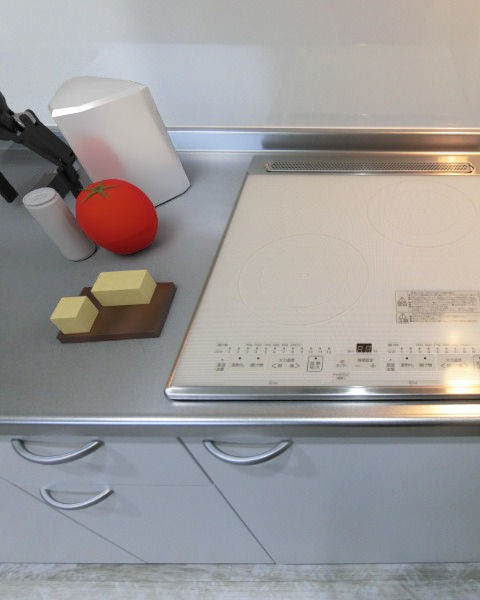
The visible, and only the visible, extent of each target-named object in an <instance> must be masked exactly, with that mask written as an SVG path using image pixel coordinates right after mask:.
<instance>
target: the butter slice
mask: <svg viewBox="0 0 480 600" xmlns="http://www.w3.org/2000/svg"><path fill="white" fill-rule="evenodd" d="M98 313H99V311H98V309H97V308H96V307H95V306H94V305H93V303H92V302H91V301H90V300H89V298H88V297H87V296H79V295H78V296H67V297H61V298H60V299H59V302H58V304H57V305H56V306H55V309H54V311H53V312H52V314H51V315H50V317H49V320H50V321H51V322H52V323H53V324H54V325H55V326H56V327H57V328H58V329H59V331H60V330H61V331H62V332H63V333H64V334H71V333H85V332H89V331H90V329H91V327H92V325H93V323H94V321H95V319H96V317H97V315H98Z"/></svg>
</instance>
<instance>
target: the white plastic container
mask: <svg viewBox="0 0 480 600" xmlns="http://www.w3.org/2000/svg"><path fill="white" fill-rule="evenodd" d="M47 109H48V111H49V114H50V116H51V118H52V120H53V121H54V123H55V124H56V126H57V127H58V130H59V131H60V133H61V134H62V136H63V137H64V139H65V141H66V142H67V144H68V146H69V147H70V148H71V149H72V150H73V151H74V153H75V155H76V156H77V158H78V159H77V160H78V161H79V163H80V164H81V166H82V168H83V169H84V172H85V173H86V174H87V175H88V177H89V179H90V181H91V182H92V184H93V183H96V182H99V181H102V180H106V179H119V180H123V181H127V182H129V183H131V184H133V185H135V186H137V187H138V188H139V189H140V190H142V191H143V192H144V193H145V194H146V195H147V197H148V198H149V199H150V200H151V202H152V204H153V205H154V207H156V206H158V205H161V204H163V203H165V202H167V201H169V200H172V199H174V198H175V197H177V196H180V195H181V194H184V193H185V192H186V191H187V190H188V189H189V187H191V183H190V181H189V178H188V176H187V174H186V171H185V169H184V167H183V164H182V162H181V160H180V157H179V155H178V153H177V150H176V148H175V146H174V143H173V141H172V139H171V136H170V133H169V131H168V130H167V129H168V128H166V125H165V122H164V120H163V117H162V116H161V114H160V111H159V108H158V107H157V104H156V102H155V99H154V97H153V94H152V92H151V90H150V87H149V85H147V84H143V83H140V82H137V81H133V80H129V79H121V78H112V77H103V76H94V75H79V76H73V77H71V78H68V79H65V80H64V81H63V82H62V83H61V84H60V85H59V87H58V88H57V89H56V91H55V92H54V94H53V95H52V96H51V98H50V100H49V101H48V104H47Z"/></svg>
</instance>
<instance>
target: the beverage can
mask: <svg viewBox="0 0 480 600" xmlns="http://www.w3.org/2000/svg"><path fill="white" fill-rule="evenodd" d="M29 192H30V191H29ZM29 192H28V193H27V194H25V195H24V196H23V197H22V200H21V201H22V203H23V204H24V207H25V208H26V210H27V211H28V212H29V214H30V215H31V216H32V217H33V218H34V220H35V221H36V223H38V225H39V226H40V227H41V229H42V230H43V231H44V232H45V233H46V235H47V236H48V238H50V240H51V241H52V242H53V244H54V245H55V246H56V247H57V249H58V250H59V251H60V252H61V254H62V255H63V256H64V257H65V258H66V259H67V260H69V261H74V262H78V261H83V260H86V259H88V258H90V257H91V256H93V254H94V252H95V250H96V245H95V244H96V243H95V242H94V241H93V240H91V239H90V238H89V237H88V236H87V235H86V234H85V233H84V231H83V230H82V229H81V227H80V225H79V223H78V221H77V219H76V215H74V213H73V211H72V210H71V209H70V208H69V206H68V205H67V204H66V202H65V200H64V198H63V199H62V198H61V196H60V195H59V194H58V193H57V192H56V191H55V190H54V189H53V188H40V189H36V190H34V191H31V192H30V193H29Z"/></svg>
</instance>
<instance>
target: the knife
mask: <svg viewBox="0 0 480 600" xmlns="http://www.w3.org/2000/svg"><path fill="white" fill-rule="evenodd" d="M73 166H74V168H75V170H76V171H77V172H78V170H79V169H80V166H79V164H78V163H77V160H76V161H75V162H74V164H73ZM57 168H58V166H56V169H57ZM56 169H54V171H53V172H47V173H46V172H45V173H44V174H43V175H42V176H41V177H40V178H39V180H38V181H37V182H36V183H35V184H34V186H33V187H32V188H31V189H30V190H29V191H28V193H30V192H31V191H34V190H36V189H40V188H53V189H54V190H55V191H56V192H57V193H58V194H59V195H60V196H61V198H62V199H63V200H64V198H65V197H66V196H67V194H68V193H69V191H70V190H69V188H68V187H67V185H66V184H65V182H64V181H63V180H62V178H61V177H60V175H59V174H58V172H57V171H56Z"/></svg>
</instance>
